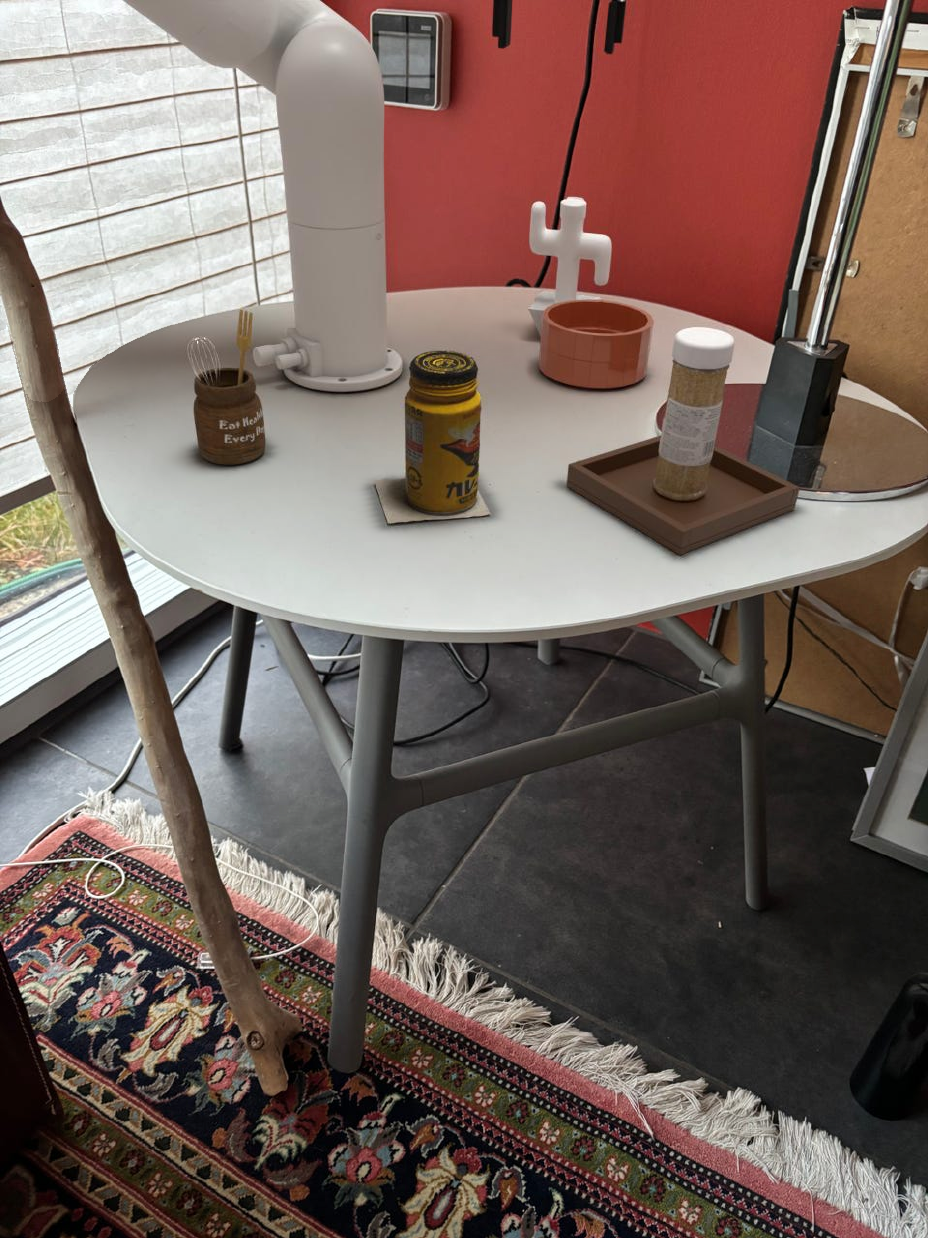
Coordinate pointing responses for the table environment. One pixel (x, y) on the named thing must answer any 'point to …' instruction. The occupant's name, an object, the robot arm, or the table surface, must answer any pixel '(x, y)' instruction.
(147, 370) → the table surface
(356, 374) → the robot arm
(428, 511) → the condiment
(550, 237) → the figurine
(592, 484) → the tray
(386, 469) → the table surface
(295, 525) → the table surface
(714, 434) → the sprinkles bottle
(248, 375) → the utensil holder
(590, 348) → the bowl
